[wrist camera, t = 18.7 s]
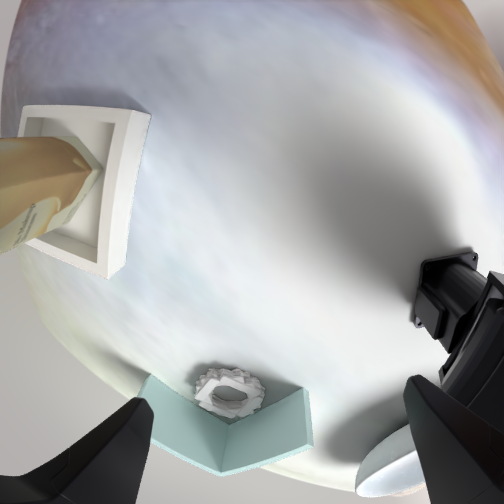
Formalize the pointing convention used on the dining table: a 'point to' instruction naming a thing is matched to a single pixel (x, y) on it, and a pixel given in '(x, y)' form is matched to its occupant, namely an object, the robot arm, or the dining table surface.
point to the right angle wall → (221, 434)
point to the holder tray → (104, 189)
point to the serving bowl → (390, 466)
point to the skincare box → (41, 185)
